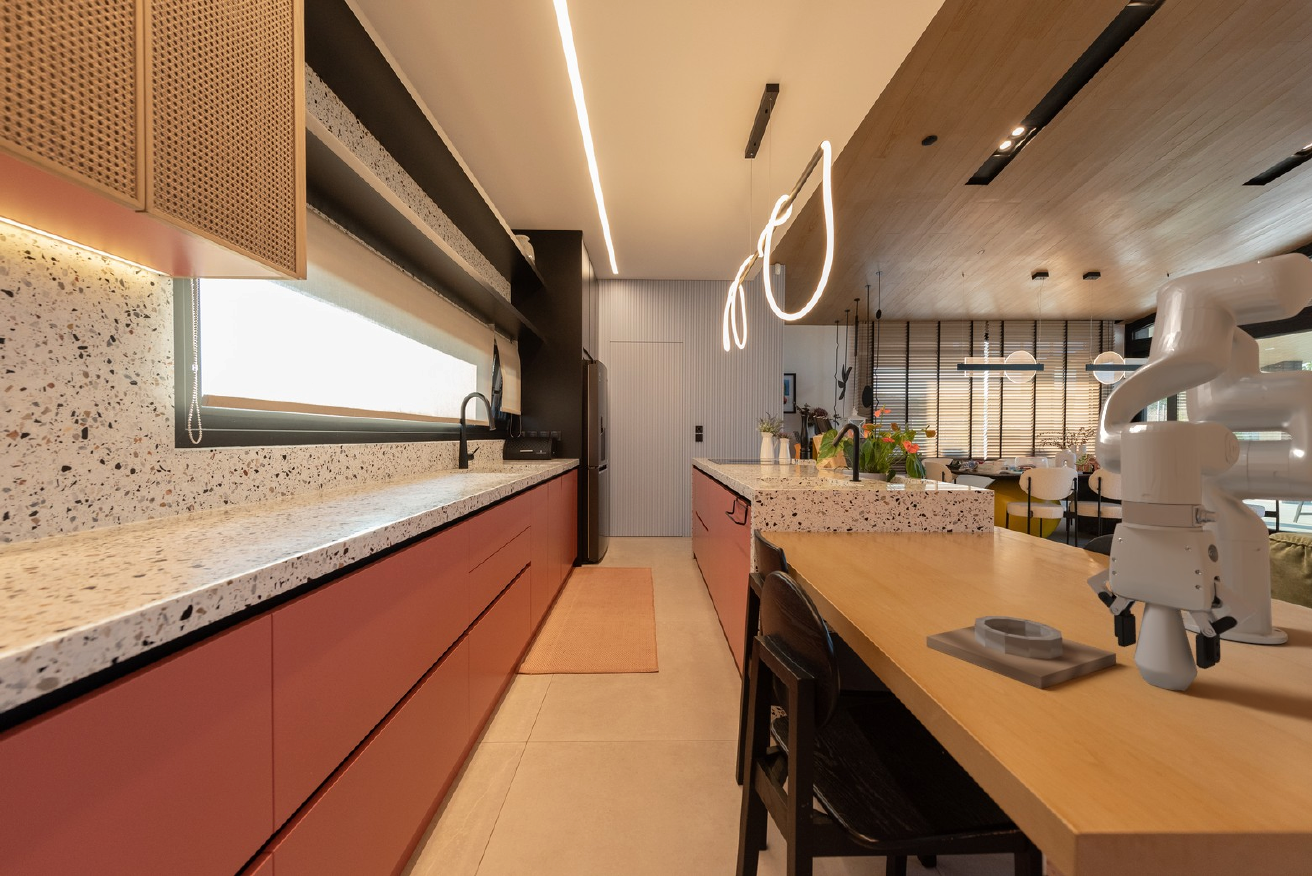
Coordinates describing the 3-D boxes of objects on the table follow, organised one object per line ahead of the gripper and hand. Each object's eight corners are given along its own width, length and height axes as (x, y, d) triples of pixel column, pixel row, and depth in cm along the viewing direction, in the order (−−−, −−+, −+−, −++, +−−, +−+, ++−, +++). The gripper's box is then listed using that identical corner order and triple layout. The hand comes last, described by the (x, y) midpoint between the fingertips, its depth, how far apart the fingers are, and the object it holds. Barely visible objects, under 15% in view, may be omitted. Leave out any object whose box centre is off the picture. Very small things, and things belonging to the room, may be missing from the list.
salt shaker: (1211, 696, 63) (1208, 588, 64) (1156, 692, 64) (1153, 586, 65) (1174, 676, 69) (1171, 577, 69) (1124, 672, 70) (1121, 575, 71)
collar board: (999, 629, 87) (998, 605, 88) (1116, 664, 73) (1115, 635, 73) (926, 646, 80) (926, 619, 80) (1041, 689, 65) (1040, 656, 65)
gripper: (1272, 523, 61) (1278, 676, 61) (1096, 508, 77) (1099, 630, 76) (1246, 526, 58) (1251, 688, 57) (1067, 511, 74) (1070, 638, 73)
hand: (1164, 654), depth 67 cm, fingers open, 7 cm apart
